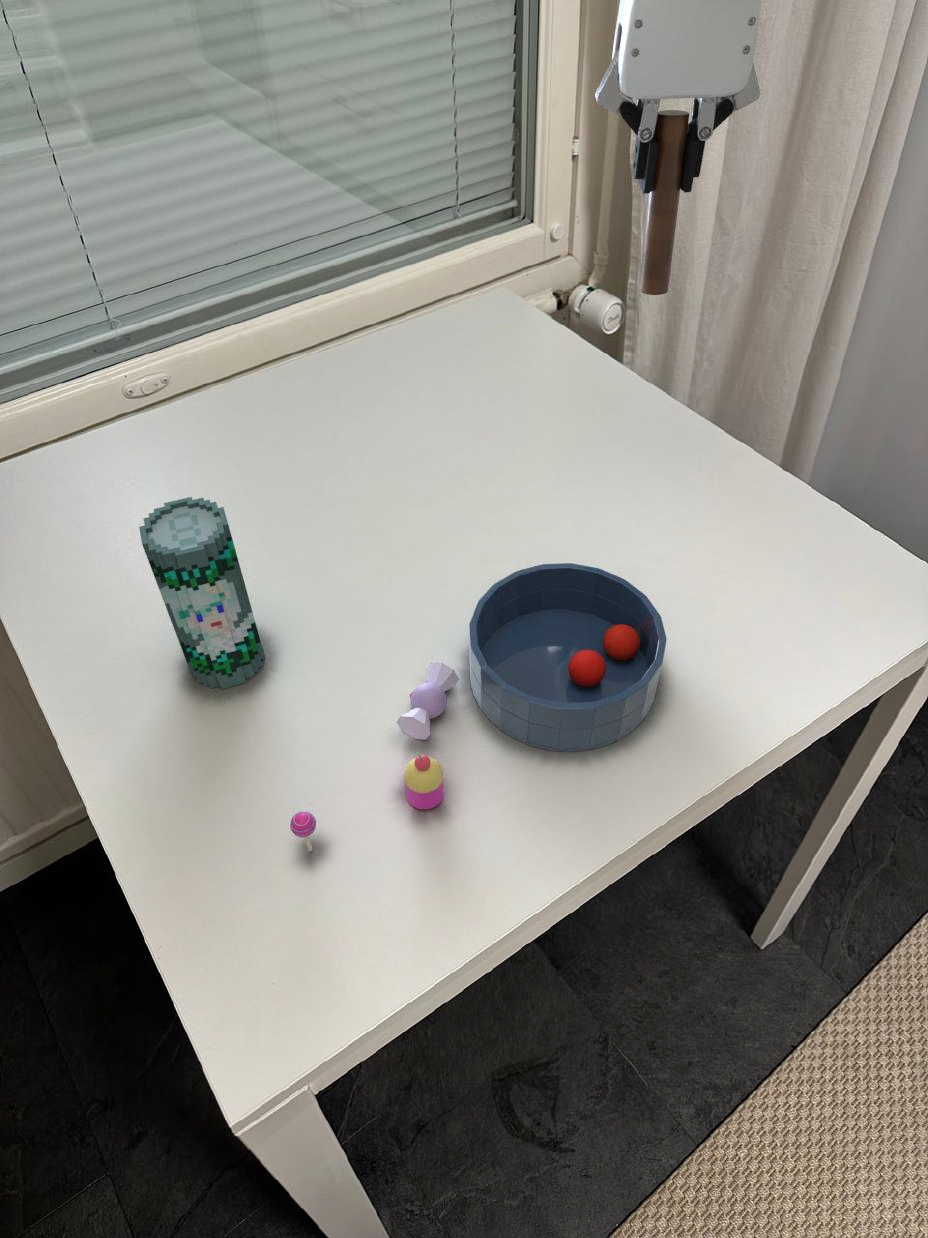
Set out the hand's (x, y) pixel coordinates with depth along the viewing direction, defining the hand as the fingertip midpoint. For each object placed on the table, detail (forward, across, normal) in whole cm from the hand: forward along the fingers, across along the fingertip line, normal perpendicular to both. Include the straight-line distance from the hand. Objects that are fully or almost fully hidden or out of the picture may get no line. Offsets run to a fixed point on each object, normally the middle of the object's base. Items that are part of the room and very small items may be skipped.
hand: (663, 184), depth 75 cm
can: (+27, +38, +28) cm, 54 cm away
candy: (+27, +24, +40) cm, 53 cm away
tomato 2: (+25, +5, +29) cm, 39 cm away
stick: (+8, 0, +2) cm, 9 cm away
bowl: (+27, +10, +31) cm, 42 cm away
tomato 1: (+25, +8, +32) cm, 41 cm away
